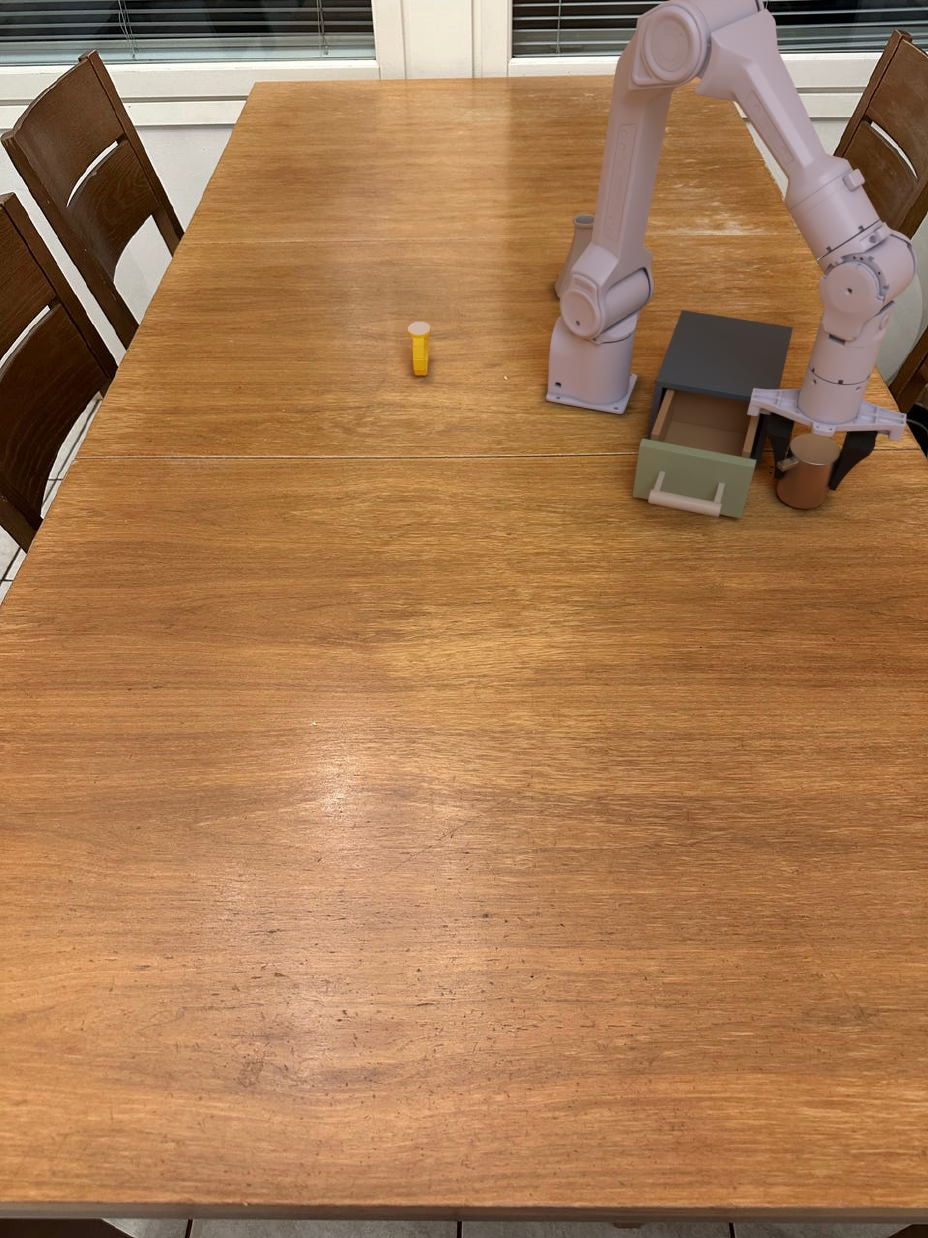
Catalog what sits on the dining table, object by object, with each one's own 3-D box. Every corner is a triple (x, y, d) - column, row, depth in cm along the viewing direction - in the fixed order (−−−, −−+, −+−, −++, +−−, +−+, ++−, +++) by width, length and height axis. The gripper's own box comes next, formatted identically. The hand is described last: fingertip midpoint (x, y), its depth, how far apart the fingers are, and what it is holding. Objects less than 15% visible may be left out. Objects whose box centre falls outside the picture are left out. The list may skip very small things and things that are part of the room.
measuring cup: (804, 472, 103) (818, 427, 98) (835, 500, 100) (851, 455, 95) (753, 491, 101) (766, 446, 96) (783, 519, 98) (797, 475, 93)
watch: (412, 355, 120) (409, 313, 116) (434, 355, 120) (432, 313, 115) (409, 383, 116) (405, 340, 112) (431, 383, 116) (428, 340, 112)
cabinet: (759, 465, 104) (776, 400, 98) (646, 444, 107) (655, 379, 101) (776, 390, 113) (793, 326, 107) (671, 373, 116) (681, 309, 110)
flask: (603, 306, 127) (610, 233, 119) (550, 301, 128) (553, 230, 120) (609, 278, 131) (616, 207, 124) (557, 274, 132) (561, 204, 125)
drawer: (734, 547, 94) (748, 496, 89) (622, 524, 97) (629, 472, 92) (759, 440, 106) (772, 389, 100) (658, 421, 108) (666, 370, 103)
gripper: (755, 377, 88) (728, 489, 98) (920, 405, 84) (874, 518, 95) (765, 337, 92) (739, 448, 102) (922, 362, 89) (879, 474, 99)
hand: (804, 479), depth 99 cm, fingers closed on measuring cup, 5 cm apart
